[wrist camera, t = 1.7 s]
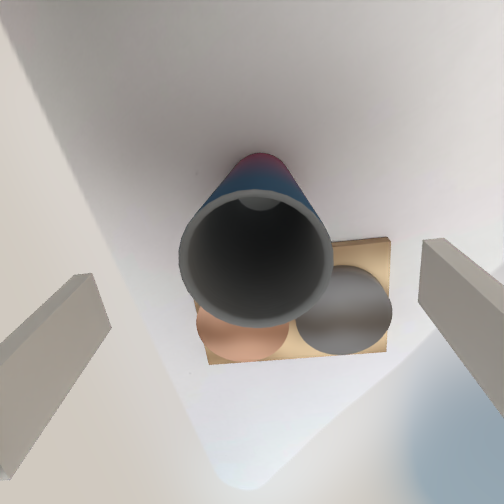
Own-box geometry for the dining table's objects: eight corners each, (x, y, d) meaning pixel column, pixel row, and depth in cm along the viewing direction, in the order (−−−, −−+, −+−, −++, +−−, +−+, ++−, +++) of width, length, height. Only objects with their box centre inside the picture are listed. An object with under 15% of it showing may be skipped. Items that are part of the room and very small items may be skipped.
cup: (222, 222, 30) (186, 328, 17) (217, 141, 27) (169, 190, 14) (300, 222, 30) (328, 329, 16) (303, 140, 27) (340, 188, 14)
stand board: (187, 257, 32) (179, 272, 29) (387, 236, 30) (399, 251, 28) (210, 358, 37) (205, 379, 34) (383, 345, 35) (392, 366, 32)
